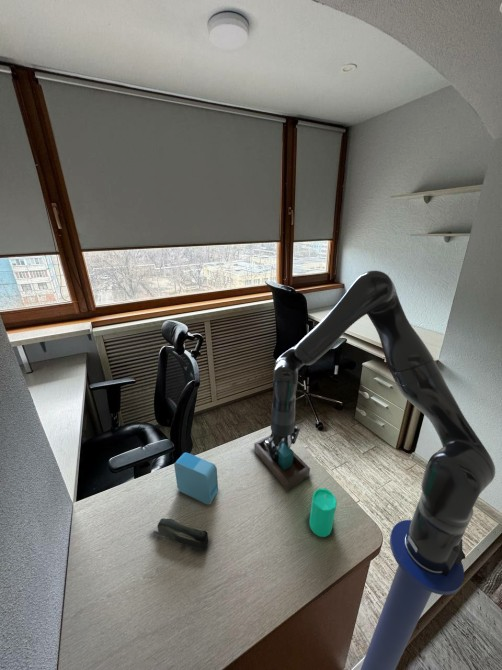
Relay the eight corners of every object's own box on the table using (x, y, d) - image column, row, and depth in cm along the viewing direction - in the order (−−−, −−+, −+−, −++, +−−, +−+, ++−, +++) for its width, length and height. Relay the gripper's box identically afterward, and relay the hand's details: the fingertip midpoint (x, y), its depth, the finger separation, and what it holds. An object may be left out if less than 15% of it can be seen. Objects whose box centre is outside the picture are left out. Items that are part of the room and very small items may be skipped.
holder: (309, 476, 87) (310, 468, 85) (287, 490, 82) (288, 481, 81) (274, 440, 101) (274, 432, 100) (254, 451, 97) (254, 442, 95)
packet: (277, 449, 95) (278, 436, 93) (292, 465, 89) (293, 451, 87) (268, 454, 93) (269, 441, 91) (283, 470, 87) (284, 457, 85)
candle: (310, 511, 76) (314, 481, 72) (332, 518, 75) (338, 488, 70) (307, 532, 71) (311, 501, 67) (331, 540, 69) (336, 509, 65)
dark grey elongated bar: (209, 528, 68) (155, 513, 71) (204, 541, 65) (149, 524, 68) (209, 540, 69) (157, 525, 73) (205, 553, 67) (151, 536, 70)
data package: (218, 493, 81) (216, 464, 77) (210, 506, 78) (208, 476, 73) (186, 478, 86) (183, 450, 81) (177, 490, 82) (173, 461, 78)
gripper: (292, 402, 91) (289, 441, 97) (257, 418, 83) (256, 459, 90) (308, 415, 85) (303, 455, 91) (272, 432, 78) (270, 475, 84)
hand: (280, 457), depth 91 cm, fingers closed on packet, 4 cm apart
